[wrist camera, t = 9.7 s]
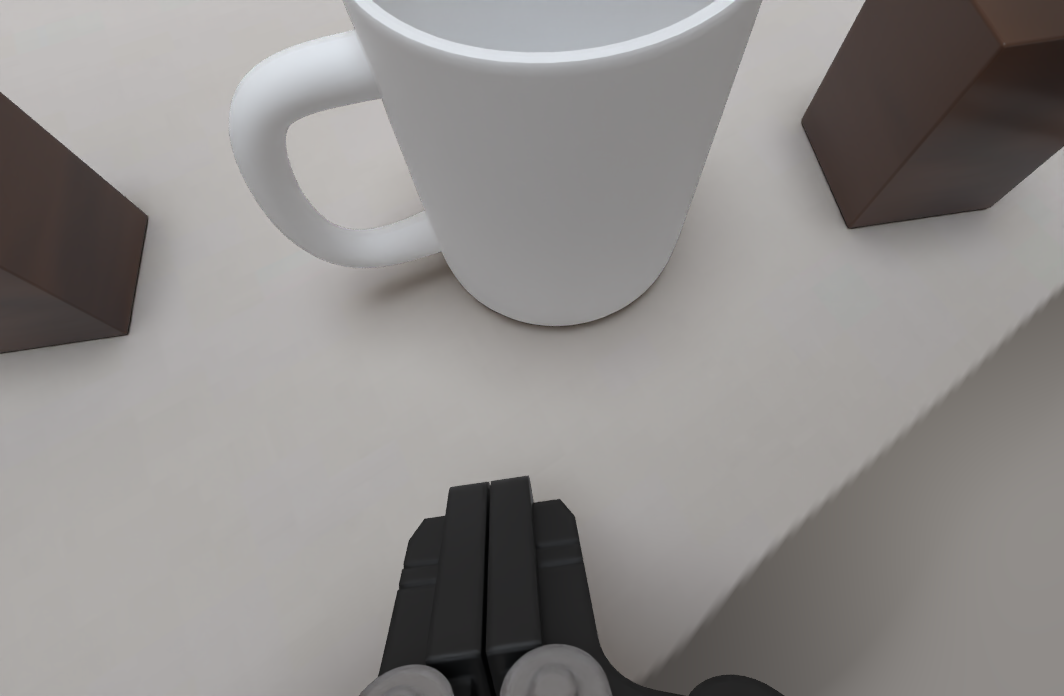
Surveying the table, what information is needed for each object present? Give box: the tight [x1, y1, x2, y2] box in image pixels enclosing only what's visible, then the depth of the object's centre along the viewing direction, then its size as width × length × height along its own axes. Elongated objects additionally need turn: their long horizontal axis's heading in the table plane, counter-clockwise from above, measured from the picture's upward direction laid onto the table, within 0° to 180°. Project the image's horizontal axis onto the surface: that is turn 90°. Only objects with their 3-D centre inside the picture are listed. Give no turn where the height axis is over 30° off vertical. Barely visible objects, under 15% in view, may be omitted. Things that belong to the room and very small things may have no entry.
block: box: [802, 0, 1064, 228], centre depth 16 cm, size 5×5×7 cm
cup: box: [229, 0, 762, 326], centre depth 14 cm, size 8×12×10 cm
